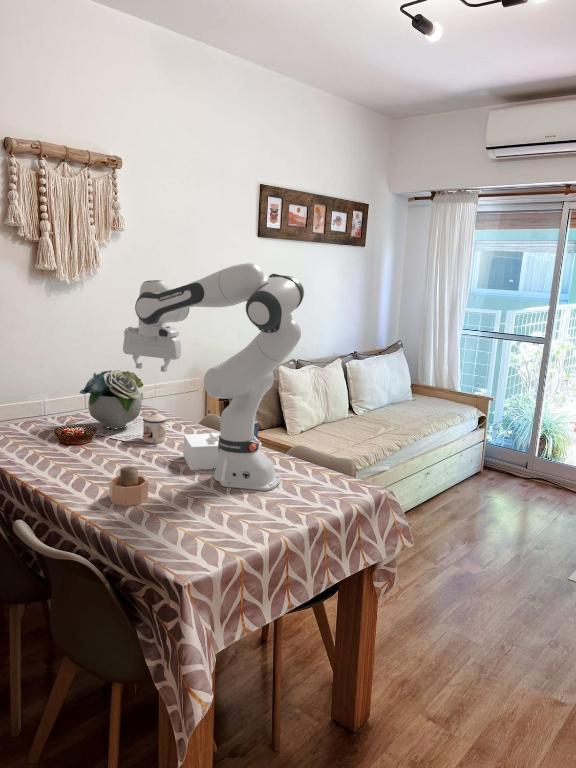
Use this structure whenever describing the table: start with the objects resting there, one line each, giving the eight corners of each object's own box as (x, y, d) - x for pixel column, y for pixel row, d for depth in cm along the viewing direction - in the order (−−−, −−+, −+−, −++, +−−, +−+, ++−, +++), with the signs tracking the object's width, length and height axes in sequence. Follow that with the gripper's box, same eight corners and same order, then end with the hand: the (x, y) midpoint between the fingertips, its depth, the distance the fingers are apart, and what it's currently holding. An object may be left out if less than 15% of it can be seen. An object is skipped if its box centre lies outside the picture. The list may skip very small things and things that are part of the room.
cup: (153, 495, 178) (153, 478, 177) (134, 508, 168) (135, 489, 167) (122, 489, 181) (122, 472, 180) (103, 501, 171) (103, 483, 170)
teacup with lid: (138, 439, 231) (138, 410, 229) (158, 435, 237) (159, 407, 235) (154, 447, 222) (154, 417, 220) (174, 443, 229) (175, 414, 226)
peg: (140, 493, 176) (141, 468, 174) (131, 499, 171) (132, 473, 170) (125, 490, 177) (126, 465, 176) (116, 496, 172) (117, 471, 171)
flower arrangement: (123, 439, 229) (124, 378, 224) (70, 429, 237) (70, 370, 232) (157, 424, 252) (158, 368, 247) (108, 416, 260) (108, 361, 255)
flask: (254, 441, 238) (255, 416, 235) (259, 443, 236) (261, 417, 234) (239, 446, 230) (240, 420, 228) (244, 448, 229) (246, 421, 226)
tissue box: (183, 457, 214) (184, 428, 212) (249, 453, 223) (250, 426, 221) (190, 471, 201) (191, 440, 199) (260, 466, 210) (262, 437, 207)
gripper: (119, 327, 196) (119, 367, 199) (175, 332, 190) (173, 374, 193) (129, 325, 202) (129, 365, 204) (183, 331, 196) (182, 371, 199)
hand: (151, 369), depth 199 cm, fingers open, 8 cm apart
